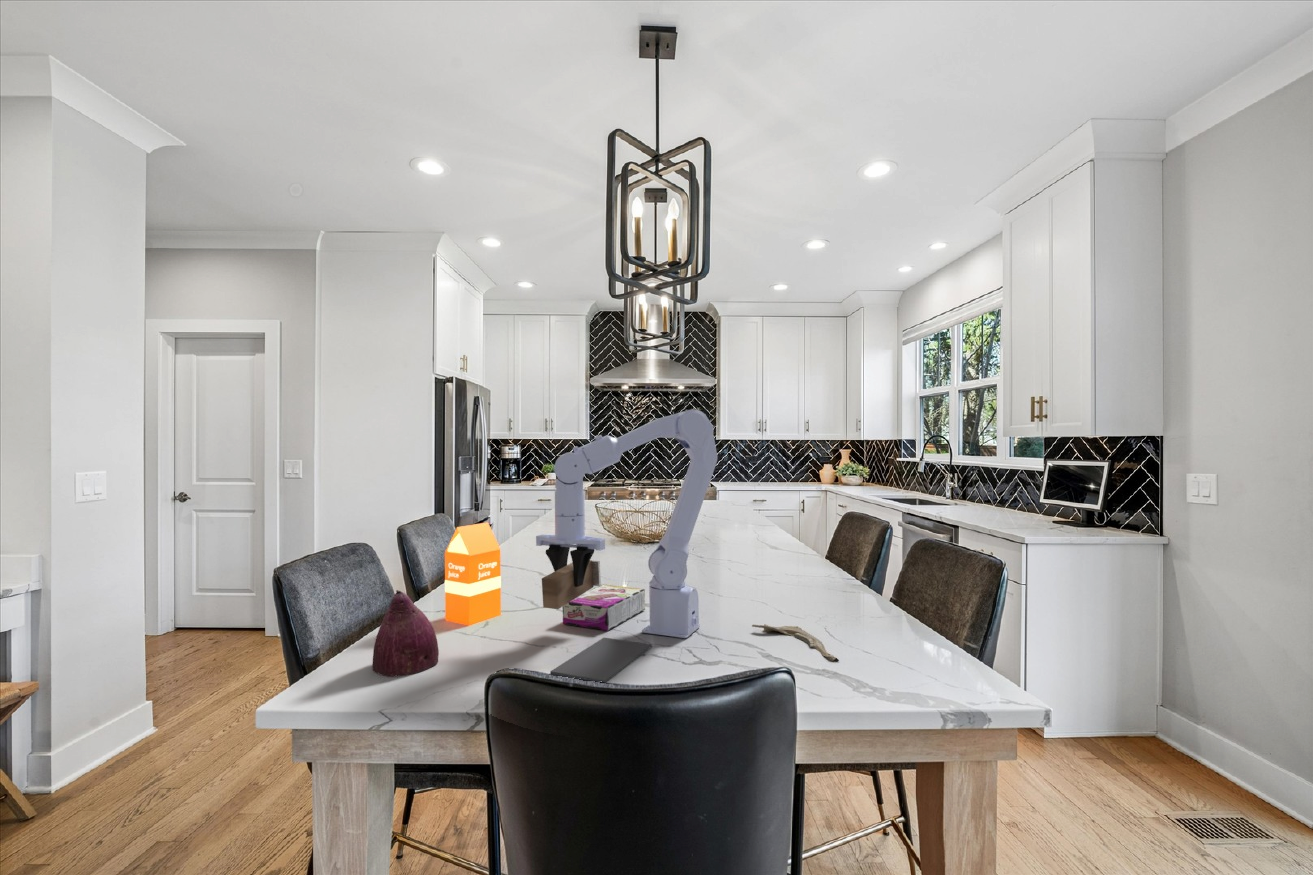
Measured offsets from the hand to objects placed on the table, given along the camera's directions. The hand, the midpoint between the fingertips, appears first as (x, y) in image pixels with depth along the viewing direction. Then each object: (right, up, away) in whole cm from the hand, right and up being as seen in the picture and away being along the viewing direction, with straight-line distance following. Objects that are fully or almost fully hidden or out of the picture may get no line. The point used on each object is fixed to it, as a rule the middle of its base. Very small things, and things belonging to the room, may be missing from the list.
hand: (570, 584), depth 116 cm
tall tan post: (0, -2, 0) cm, 2 cm away
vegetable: (-26, -10, -14) cm, 31 cm away
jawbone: (+42, -10, -6) cm, 44 cm away
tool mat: (+8, -10, -13) cm, 18 cm away
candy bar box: (+2, -7, +5) cm, 9 cm away
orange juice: (-23, -10, +13) cm, 28 cm away
